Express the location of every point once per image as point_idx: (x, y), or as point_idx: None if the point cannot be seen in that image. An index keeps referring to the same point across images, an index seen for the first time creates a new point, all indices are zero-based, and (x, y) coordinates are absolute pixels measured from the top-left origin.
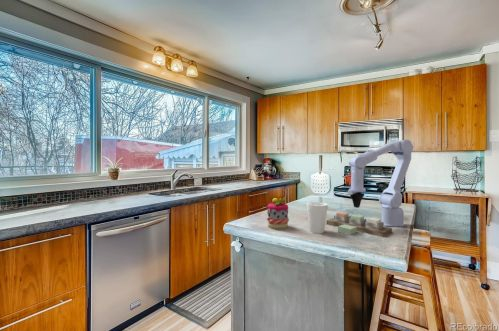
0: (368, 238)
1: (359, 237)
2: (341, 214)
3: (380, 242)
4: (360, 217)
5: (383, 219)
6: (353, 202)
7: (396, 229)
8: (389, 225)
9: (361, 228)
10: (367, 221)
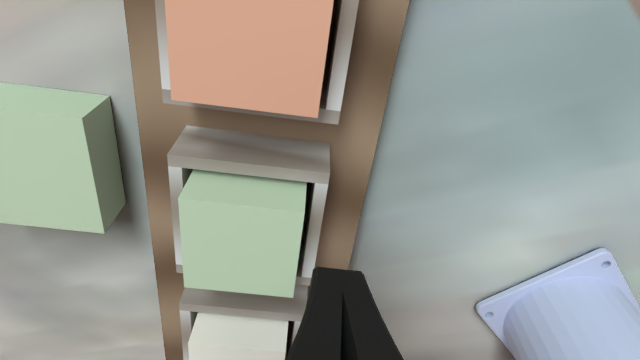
0: (61, 292)
1: (21, 252)
2: (169, 48)
3: (56, 345)
4: (200, 286)
5: (543, 323)
6: (299, 338)
7: (426, 355)
8: (489, 326)
9: (156, 246)
10: (195, 320)
